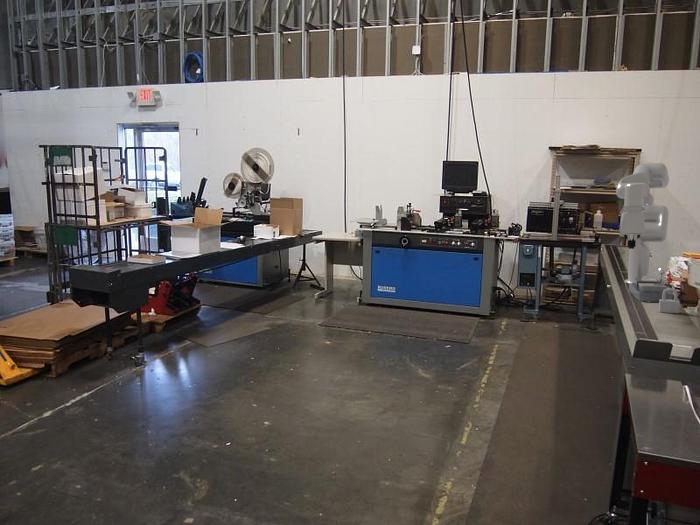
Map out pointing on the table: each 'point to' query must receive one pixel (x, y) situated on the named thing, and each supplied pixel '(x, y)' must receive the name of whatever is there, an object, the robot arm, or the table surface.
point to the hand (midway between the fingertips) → (631, 248)
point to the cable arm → (659, 271)
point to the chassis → (648, 290)
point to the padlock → (669, 303)
